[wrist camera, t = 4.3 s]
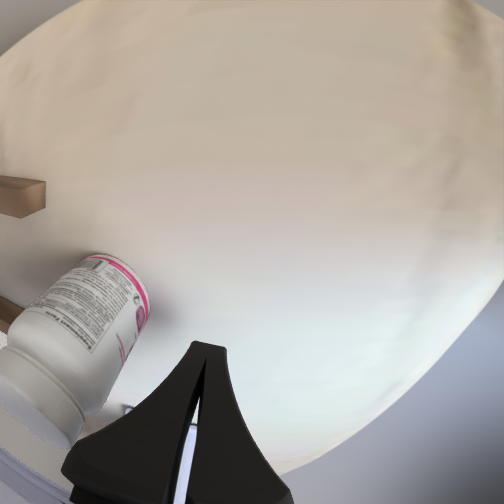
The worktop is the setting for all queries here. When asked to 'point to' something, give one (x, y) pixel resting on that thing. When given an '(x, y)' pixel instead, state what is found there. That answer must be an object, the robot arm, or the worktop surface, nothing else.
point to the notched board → (20, 205)
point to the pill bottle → (71, 348)
